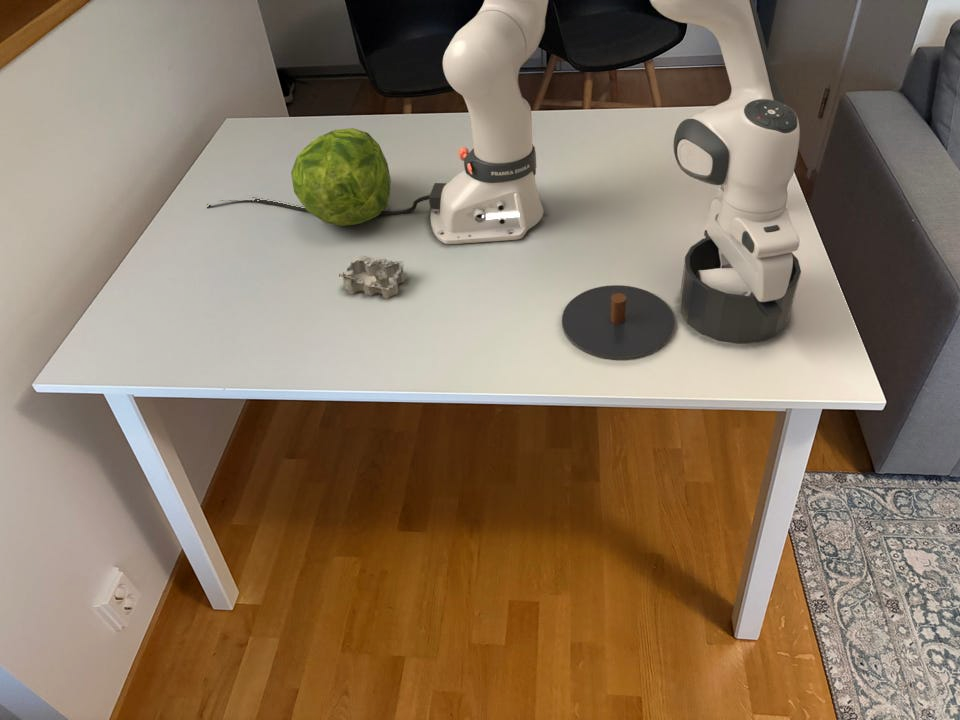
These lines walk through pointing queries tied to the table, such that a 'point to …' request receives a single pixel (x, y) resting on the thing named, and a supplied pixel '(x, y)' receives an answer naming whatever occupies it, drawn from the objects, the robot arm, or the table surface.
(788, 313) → the pot
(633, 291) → the pot lid
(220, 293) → the table surface
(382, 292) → the egg carton
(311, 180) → the lettuce
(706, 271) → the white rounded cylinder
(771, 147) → the robot arm
